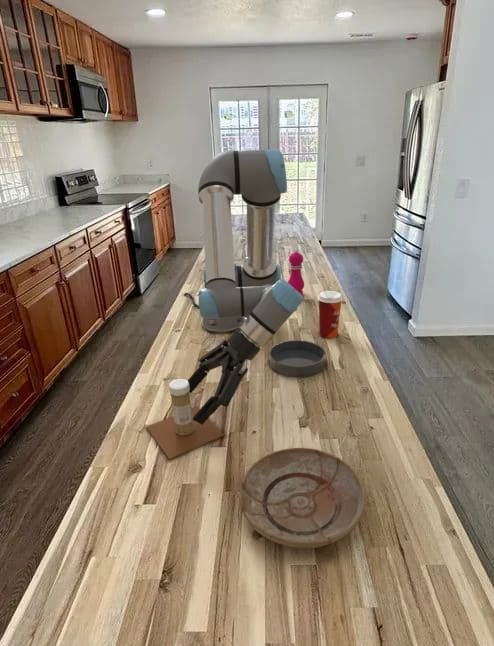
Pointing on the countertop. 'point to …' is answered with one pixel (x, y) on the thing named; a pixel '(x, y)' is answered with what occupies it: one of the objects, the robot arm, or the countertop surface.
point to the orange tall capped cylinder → (329, 313)
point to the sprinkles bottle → (181, 406)
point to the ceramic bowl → (302, 497)
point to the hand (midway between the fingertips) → (191, 405)
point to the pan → (297, 358)
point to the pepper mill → (296, 271)
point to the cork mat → (180, 444)
